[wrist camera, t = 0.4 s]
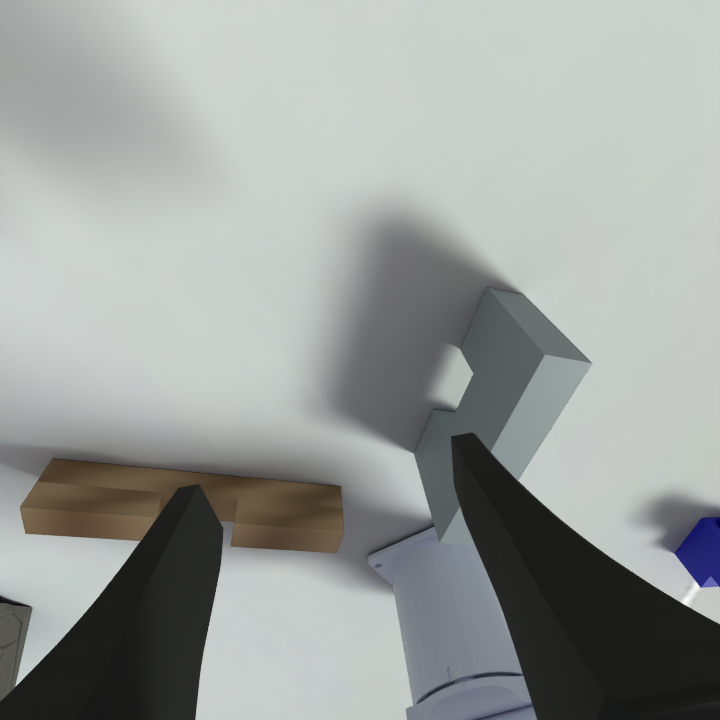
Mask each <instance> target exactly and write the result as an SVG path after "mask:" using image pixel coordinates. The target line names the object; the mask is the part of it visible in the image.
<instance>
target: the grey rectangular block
mask: <svg viewBox="0 0 720 720" xmlns="http://www.w3.org/2000/svg"><path fill="white" fill-rule="evenodd" d="M460 350H461V352H462V354H463V355H464V357H465V359H466V361H467V363H468V364H469V366H470V368H471V370H472V372H473V373H474V374H473V376H472V378H471V380H470V382H469V384H468V387H467V389H466V391H465V393H464V395H463V397H462V399H461V401H460V403H459V406H458V408H457V410H456V412H450V411H443V410H436V409H434V410H433V412H432V414H431V416H430V419H429V421H428V423H427V426H426V428H425V430H424V432H423V435H422V437H421V439H420V442H419V444H418V446H417V448H416V451H415V453H414V455H415V459H416V463H417V466H418V470H419V473H420V477H421V480H422V484H423V487H424V491H425V494H426V498H427V501H428V505H429V509H430V512H431V516H432V519H433V523H434V526H435V530H436V533H437V537H438V540H439V543H442V544H456V545H470V546H475V544H474V542H473V539H472V537H471V534H470V532H469V530H468V527H467V525H466V522H465V520H464V517H463V514H462V511H461V507H460V504H459V501H458V498H457V494H456V491H455V487H454V480H453V464H452V448H451V436H455V435H460V434H465V433H471V432H473V433H474V434H476V435H477V437H478V438H479V439H480V440H481V441H482V443H483V444H484V445H485V446H486V447H487V448H488V450H489V451H490V452H491V453H492V454H493V455H494V456H495V457H496V459H497V460H498V461H499V462H500V463H501V464H502V465H503V466H504V467H505V468H506V469H507V470H508V471H509V472H510V473H511V474H512V475H513V476H514V477H515V478H516V479H517V480H519V478H520V477H521V475H522V474H523V472H524V471H525V469H526V467H527V466H528V464H529V463H530V461H531V459H532V458H533V456H534V455H535V453H536V452H537V450H538V448H539V447H540V445H541V444H542V442H543V441H544V439H545V437H546V436H547V434H548V433H549V431H550V430H551V428H552V426H553V425H554V423H555V422H556V420H557V419H558V417H559V415H560V414H561V412H562V411H563V409H564V407H565V406H566V404H567V403H568V401H569V400H570V398H571V396H572V395H573V393H574V392H575V390H576V389H577V387H578V385H579V384H580V382H581V381H582V379H583V378H584V376H585V374H586V373H587V371H588V370H589V368H590V367H591V365H592V362H591V361H590V360H589V359H588V358H587V357H586V356H585V355H584V354H583V353H582V352H581V351H580V350H579V349H578V348H577V347H576V346H575V345H574V344H573V343H572V342H571V341H570V340H569V339H568V338H567V337H566V336H565V335H564V334H563V333H562V332H561V331H560V330H559V329H558V328H557V327H556V326H555V325H554V324H553V323H552V322H551V321H550V320H549V319H548V318H547V317H546V316H545V315H544V314H543V313H542V312H541V311H540V310H539V309H538V308H537V307H536V306H535V305H534V304H533V303H532V302H531V301H530V300H529V299H528V298H527V297H526V296H525V295H521V294H517V293H512V292H508V291H503V290H498V289H494V288H489V287H487V289H486V291H485V293H484V296H483V298H482V300H481V302H480V305H479V307H478V309H477V312H476V314H475V316H474V318H473V321H472V323H471V325H470V327H469V330H468V332H467V334H466V337H465V339H464V341H463V343H462V346H461V348H460Z"/></svg>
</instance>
